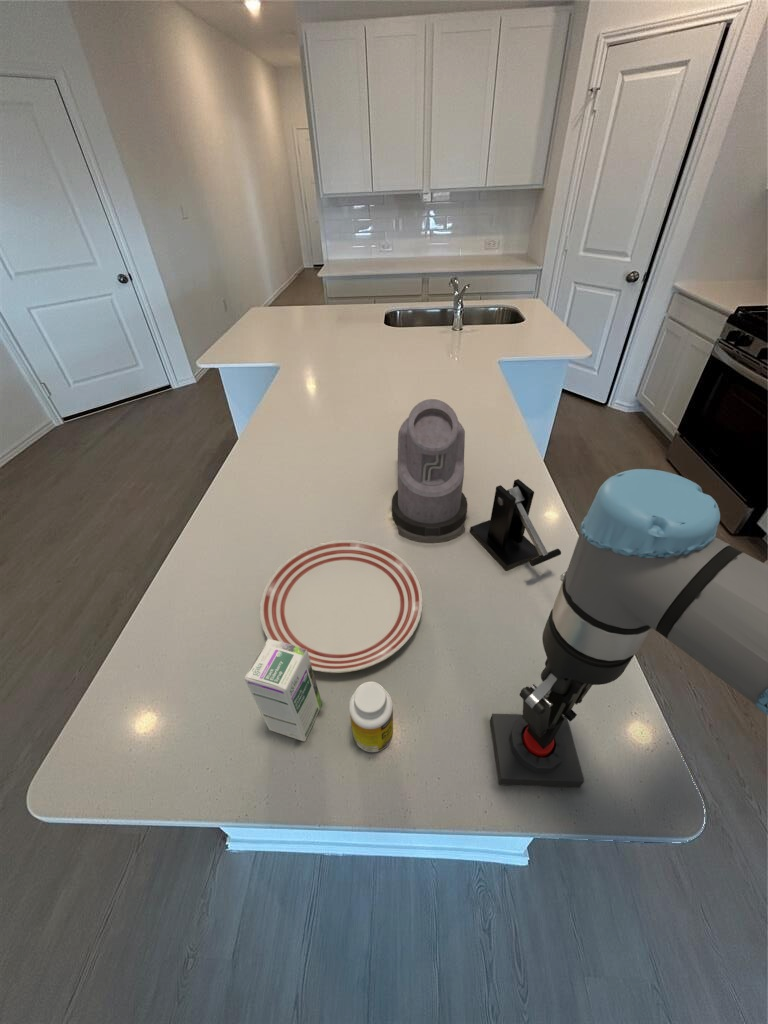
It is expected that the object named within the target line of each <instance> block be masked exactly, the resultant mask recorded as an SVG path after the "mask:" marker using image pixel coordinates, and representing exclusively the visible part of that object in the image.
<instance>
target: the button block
mask: <svg viewBox="0 0 768 1024" xmlns="http://www.w3.org/2000/svg"><path fill="white" fill-rule="evenodd" d="M562 717H563V718H564V721H563V723H562V724H561V726H560V728H559V730H558V732H557V733H556V735H555V737H554V747H553V749H552V750H551V752H550V754H549V755H548V756H547V757H545V758H544V757H536V756H534V755H533V754H531V753H529V752H528V750H527V749H526V748H525V746H524V745H523V743H522V737H523V734H524V732H525V730H526V728H527V727H528V726H529V724H528V723H527V722H526V721H525V720H524V719H523V713H522V714H521V713H520V714H519V713H491V716H490V719H489V723H490V724H489V725H490V731H491V737H492V746H493V753H494V760H495V767H496V775H497V782H498V785H499V786H516V787H517V786H518V787H519V786H520V787H545V788H546V787H547V788H570V789H571V788H573V789H574V788H575V789H580V788H581V787H582V785H583V784H584V783H585V778H584V774H583V771H582V767H581V764H580V760H579V757H578V753H577V749H576V745H575V741H574V737H573V735H572V730H571V728H570V723H569V720H568V719H567V718H566V717H565V716H564V715H563V716H562Z"/></svg>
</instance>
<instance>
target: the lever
mask: <svg viewBox="0 0 768 1024" xmlns="http://www.w3.org/2000/svg"><path fill="white" fill-rule="evenodd" d="M506 490H507V491H508V492H509V493H510V494H511V495H513V496H514V497H515V498H516V501H515V506H514V507H515V509H516V511H517V513H518V515H519V517H520V519H521V521H522V523H523V525H524V527H525V531H526V532H527V535H528V536H529V538H530V540H531V543H532V544H533V545H534V546H535V548H536V549H537V551H538V553H539V555H540V556H538V557H536V558H534V559H531V560H530V561H528V563H529V565H530V567H536V566H538V565H540V564H542V563H545V562H548V561H549V560H551V559H553V558H557V557H558V556H561V555H562V551H561V549H559V548H555V549H552V550H551V551H547V548H546V547H545V545H544V543H543V540H542V539H541V537H540V536H539V534H538V532H537V530H536V528H535V526H534V524H533V523H532V521H531V519H530V517H529V515H527V513H526V511H525V509H524V507H523V505H522V504H521V502H522V501H524V500H525V499H524V497H523V495H522V493H521V491H520V489H519V487H518V486H517V487H514V488H513V487H511V488H508V489H506Z"/></svg>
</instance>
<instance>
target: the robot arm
mask: <svg viewBox="0 0 768 1024" xmlns="http://www.w3.org/2000/svg"><path fill="white" fill-rule="evenodd" d="M720 521H721V512H720V508H719V504H718V503H717V502H716V500H715V498H713V497H712V496H711V495H710V494H707V493H704V492H703V489H702V487H701V486H700V485H699V484H697V483H696V482H695V481H693V480H690V479H689V478H688V479H687V478H685V477H683V476H682V475H679V474H676V473H672V472H669V471H665V470H658V469H652V468H651V469H650V468H635V469H634V468H633V469H629V470H628V469H627V470H624V471H621V472H618V473H616V474H614V475H612V476H609V477H608V478H607V479H606V480H605V481H604V482H603V483H601V485H600V487H599V488H598V491H597V493H596V495H595V497H594V498H593V501H592V503H591V505H590V508H589V510H588V512H587V514H586V515H585V516H584V517H583V520H582V522H581V524H580V529H579V531H580V532H579V535H578V537H577V540H576V544H575V546H574V549H573V552H572V555H571V558H570V561H569V563H568V567H567V570H566V571H565V572H564V573H562V574H561V575H560V577H559V579H560V581H561V583H560V584H561V585H560V587H559V590H558V593H557V596H556V598H555V601H554V603H553V606H552V609H551V611H550V612H549V615H548V617H547V620H546V623H545V625H544V629H543V631H542V638H541V639H542V646H543V650H544V653H545V655H546V659H545V662H544V665H545V667H544V668H543V669H542V671H541V672H540V680H541V683H540V684H539V685H538V686H536V685H535V684H534V683H533V684H531V685H530V686H526V687H523V688H522V689H521V690H520V692H519V697H520V698H521V699H522V700H523V701H522V714H523V719H524V720H525V721H526V722H527V723H528V724H529V726H528V729H527V732H528V733H529V734H530V735H531V736H532V737H533V738H534V739H535V740H536V742H537V743H538V744H539V745H540V746H541V747H542V748H543V749H544V748H546V747H547V746H548V745H549V744H550V743H551V742H552V741H553V739H554V737H555V735H556V733H557V732H558V730H559V728H560V726H561V724H562V723H563V721H564V718H563V717H562V716H565V717H566V718H567V719H568V722H572V721H573V720H574V719H575V718H576V717H577V716H578V714H577V713H576V711H574V710H573V708H574V706H576V705H578V704H581V703H582V702H583V699H584V697H586V695H587V693H588V692H589V690H590V689H591V688H592V687H593V686H599V685H600V686H601V685H606V684H610V683H612V682H614V681H616V680H617V679H619V678H620V677H621V676H622V675H623V673H624V672H625V670H626V669H627V667H628V666H629V664H630V663H631V662H632V660H633V657H634V656H635V655H636V653H637V652H638V651H639V650H640V649H641V647H642V646H643V644H644V642H645V641H646V639H647V638H648V636H649V634H650V633H651V631H652V630H654V631H655V632H657V633H659V634H660V635H661V636H662V637H664V638H665V639H667V640H668V641H669V642H671V643H672V644H674V645H675V646H676V647H677V648H679V649H680V650H681V651H683V652H684V653H685V654H686V655H688V656H689V657H691V658H692V659H693V660H695V661H696V662H698V663H699V664H700V665H701V666H702V667H704V668H705V669H707V670H708V671H709V672H710V673H712V674H714V675H715V676H716V677H717V678H719V679H720V680H722V682H724V683H725V684H727V685H728V686H729V687H731V688H732V689H734V690H735V691H736V692H737V693H739V694H740V695H741V696H743V697H744V698H745V699H746V700H748V701H749V702H751V703H752V704H753V705H755V708H756V709H758V710H759V711H760V712H761V713H763V714H764V715H766V716H768V559H765V561H764V562H762V561H760V560H758V559H756V558H755V557H752V556H751V555H749V554H747V553H745V552H743V551H741V550H739V549H737V548H735V547H734V546H732V545H731V544H729V543H727V542H725V540H723V539H720V538H718V537H716V536H717V531H718V527H719V524H720Z"/></svg>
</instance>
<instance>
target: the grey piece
mask: <svg viewBox="0 0 768 1024" xmlns="http://www.w3.org/2000/svg"><path fill="white" fill-rule="evenodd" d="M465 442H466V431H465V428H464V427H463V425H462V423H461V422H460V421H459V418H458V416H457V414H456V412H455V410H454V409H453V408H452V407H451V406H450V405H449V404H448V403H447V402H444V401H443V400H440V399H435V398H429V399H424V400H421V401H420V402H418V403H417V404H416V405H414V406H413V408H412V409H411V411H410V413H409V414H408V417H406V418H405V420H403V422H402V424H401V426H400V427H399V430H398V435H397V490H396V491H395V492H394V494H393V495H392V498H391V517H392V520H393V522H394V524H395V525H396V526H397V534H398V535H399V536H401V537H402V538H405V539H407V540H410V541H414V542H417V543H423V544H438V543H439V544H440V543H445V542H449V541H452V540H454V539H456V538H457V539H458V537H460V536H462V535H463V534H465V533H466V528H465V527H466V525H465V522H466V519H467V512H468V500H467V497H466V496H465V494H464V493H463V485H464V477H465V444H466V443H465Z"/></svg>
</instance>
